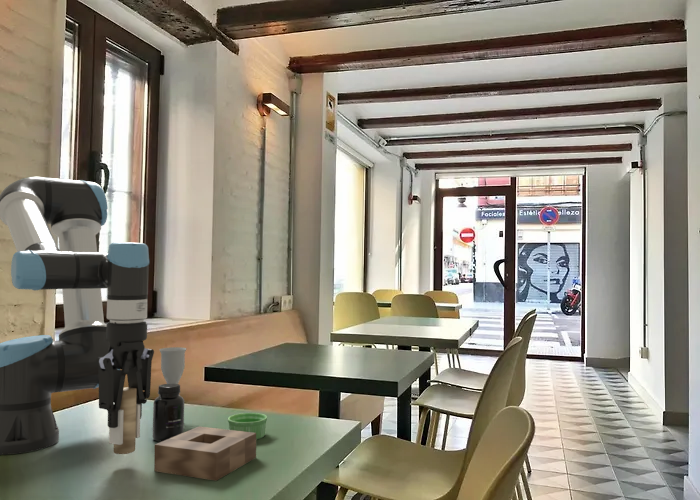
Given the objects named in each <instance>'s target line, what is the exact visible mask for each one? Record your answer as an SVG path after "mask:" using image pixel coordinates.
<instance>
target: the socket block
mask: <svg viewBox="0 0 700 500" xmlns="http://www.w3.org/2000/svg"><path fill="white" fill-rule="evenodd" d="M153 457H154V462H153V463H154V472H156V473H157V472H158V473H163V474H170V475H171V474H172V475H176V476H177V475H178V476H184V477H190V478H197V479H204V480H211V481H216V482H217V481H218V480H220V479H222V478H223V477H225V476H227V475H229V474H231V473H233V472H234V471H236V470H237V469H239V468H241V467H243V466H244V465H246V464H247V463H250V462H251V461H253V460H255V459H256V458H257V440H256V433H252V432H243V431H235V430H229V429H226V428H217V427H206V426H196V427H194V428H192V429H189V430H187V431H184V433H182V434H179V435H177V436H174V437H172V438H170V439H167V440H165V441H162V442H161V441H159V442H158V443H155V444H154V455H153Z"/></svg>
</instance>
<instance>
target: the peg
mask: <svg viewBox="0 0 700 500" xmlns="http://www.w3.org/2000/svg"><path fill="white" fill-rule="evenodd" d="M136 394H137V389H136V388H133V387H129V386H127V387H125V386H124V388H123V394H122V400H121V407H120V409H121V410H124V413H123V444H121V445H117V444H113V454H116V455H128V454H132V453H134V452H136V440H137V438H136Z"/></svg>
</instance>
